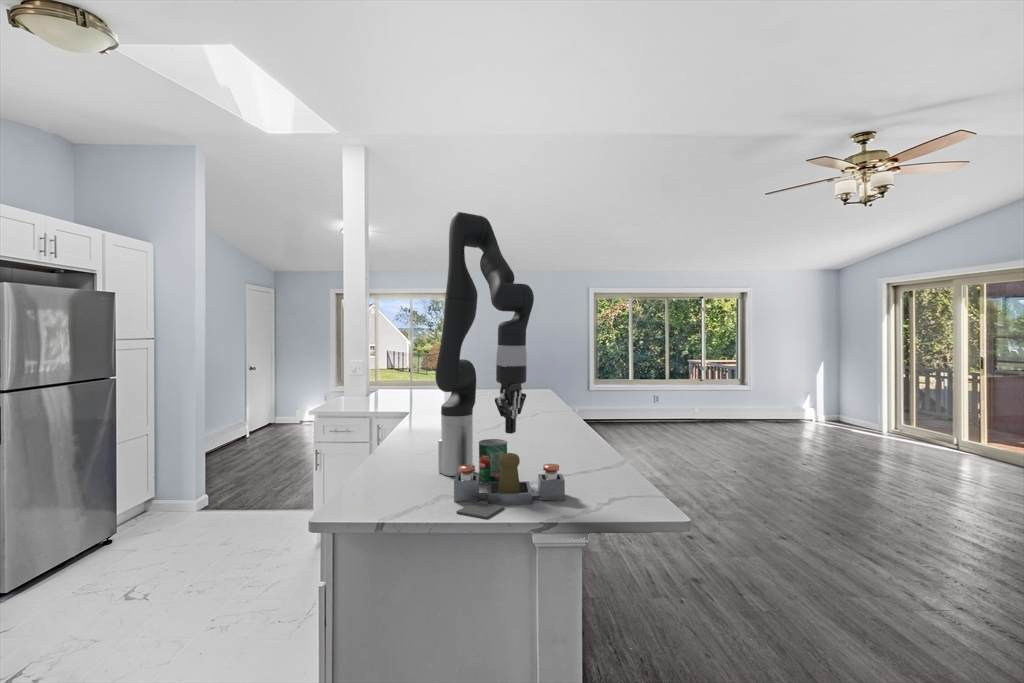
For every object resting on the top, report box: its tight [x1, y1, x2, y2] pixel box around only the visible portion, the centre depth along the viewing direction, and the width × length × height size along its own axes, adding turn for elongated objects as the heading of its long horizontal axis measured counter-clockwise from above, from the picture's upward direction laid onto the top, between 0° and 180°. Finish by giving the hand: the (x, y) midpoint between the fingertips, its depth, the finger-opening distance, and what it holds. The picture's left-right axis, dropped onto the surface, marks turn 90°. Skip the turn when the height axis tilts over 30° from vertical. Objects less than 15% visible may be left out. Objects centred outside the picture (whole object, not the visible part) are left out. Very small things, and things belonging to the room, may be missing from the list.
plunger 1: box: [459, 464, 476, 480], centre depth 133 cm, size 4×4×7 cm
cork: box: [497, 452, 522, 493], centre depth 134 cm, size 6×6×11 cm
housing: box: [453, 473, 566, 505], centre depth 134 cm, size 27×11×5 cm, turn 92°
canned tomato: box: [478, 438, 508, 485], centre depth 149 cm, size 8×8×11 cm
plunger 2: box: [542, 463, 560, 480], centre depth 134 cm, size 4×4×7 cm
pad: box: [456, 501, 505, 520], centre depth 124 cm, size 8×8×1 cm
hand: (510, 432), depth 134 cm, fingers closed
